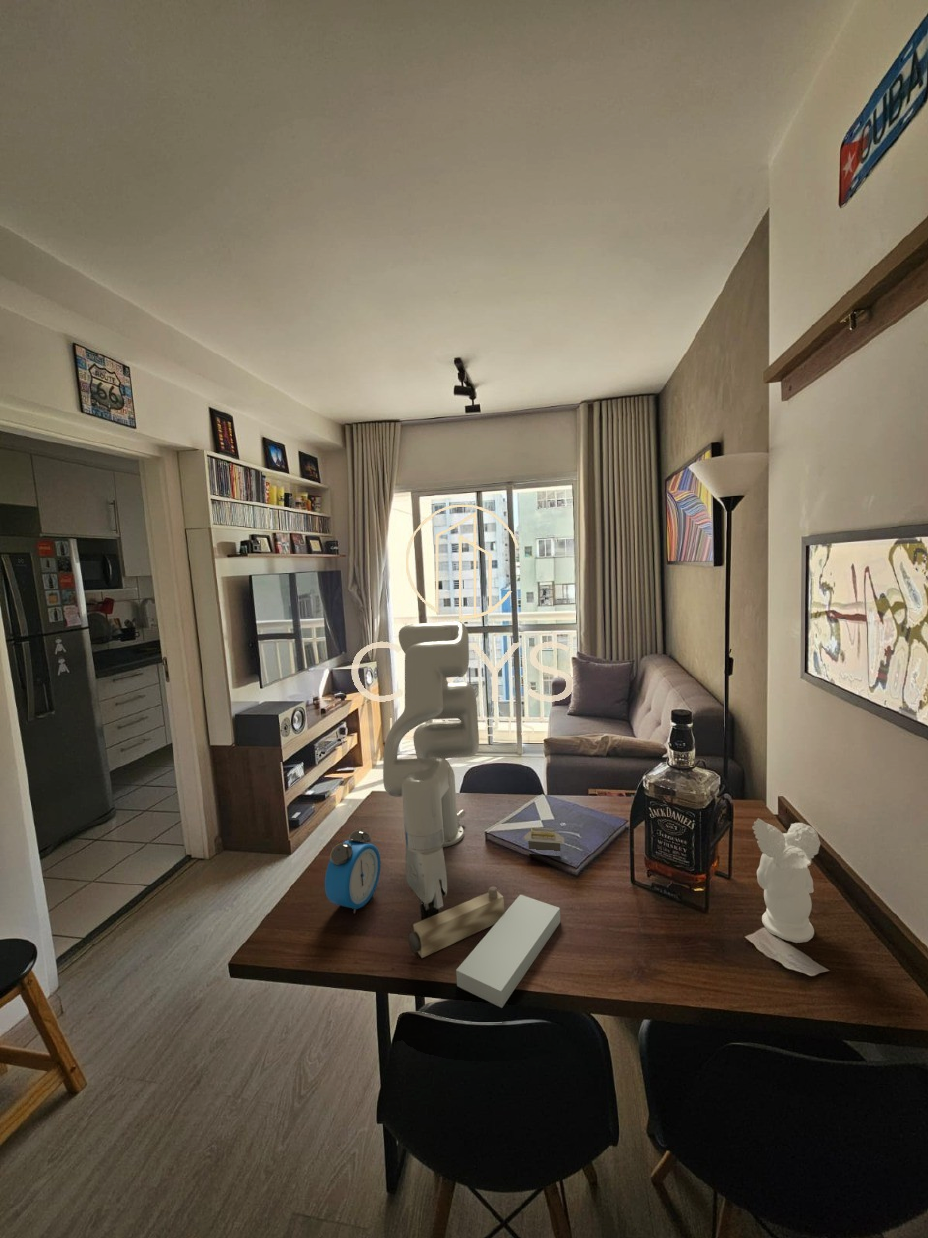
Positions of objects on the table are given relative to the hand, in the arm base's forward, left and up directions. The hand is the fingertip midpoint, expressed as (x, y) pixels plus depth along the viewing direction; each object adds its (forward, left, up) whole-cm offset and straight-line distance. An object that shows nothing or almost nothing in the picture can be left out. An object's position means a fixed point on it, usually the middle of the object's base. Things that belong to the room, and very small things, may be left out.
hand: (430, 922), depth 104 cm
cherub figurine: (-34, +60, -3) cm, 69 cm away
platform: (-37, +8, -3) cm, 38 cm away
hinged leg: (-2, +5, -2) cm, 6 cm away
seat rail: (-4, +16, -3) cm, 17 cm away
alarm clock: (0, -21, -3) cm, 21 cm away
